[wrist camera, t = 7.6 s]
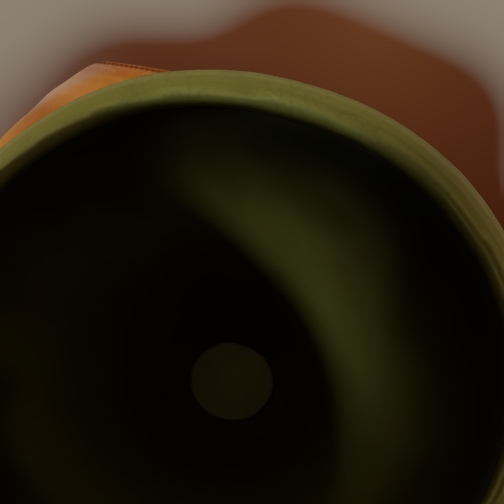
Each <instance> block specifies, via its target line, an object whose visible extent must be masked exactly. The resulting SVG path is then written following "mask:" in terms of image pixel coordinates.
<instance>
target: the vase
mask: <svg viewBox="0 0 504 504" xmlns="http://www.w3.org/2000/svg"><path fill="white" fill-rule="evenodd" d="M0 504H504V231H503V229H502V227H501V226H500V224H499V222H498V221H497V219H496V217H495V216H494V214H493V213H492V211H491V210H490V208H489V207H488V206H487V204H486V203H485V201H484V200H483V198H482V197H481V196H480V195H479V193H478V192H477V191H476V190H475V188H474V187H473V186H472V185H471V183H470V182H469V181H468V180H467V179H466V177H465V176H464V175H463V174H462V173H461V172H460V171H459V170H458V169H457V168H456V167H455V166H454V165H452V164H451V163H450V162H449V161H448V160H447V159H446V158H445V157H444V156H443V155H442V154H440V153H439V152H438V151H437V150H436V149H434V148H433V147H432V146H431V145H429V144H428V143H427V142H425V141H424V140H423V139H421V138H420V137H419V136H417V135H416V134H414V133H413V132H412V131H410V130H409V129H407V128H406V127H404V126H403V125H401V124H400V123H398V122H396V121H395V120H393V119H391V118H389V117H388V116H386V115H384V114H382V113H380V112H378V111H376V110H374V109H373V108H371V107H369V106H366V105H364V104H362V103H360V102H357V101H355V100H352V99H350V98H347V97H345V96H342V95H340V94H337V93H334V92H332V91H328V90H326V89H322V88H319V87H316V86H312V85H309V84H305V83H302V82H298V81H294V80H290V79H286V78H281V77H276V76H271V75H266V74H261V73H254V72H244V71H231V70H186V71H172V72H162V73H155V74H150V75H145V76H141V77H137V78H132V79H128V80H125V81H122V82H119V83H116V84H113V85H110V86H107V87H104V88H101V89H99V90H96V91H94V92H91V93H89V94H87V95H84V96H82V97H80V98H77V99H75V100H73V101H71V102H70V103H68V104H66V105H64V106H62V107H60V108H59V109H57V110H55V111H53V112H52V113H50V114H48V115H47V116H45V117H43V118H42V119H40V120H39V121H37V122H36V123H34V124H33V125H31V126H30V127H28V128H27V129H25V130H24V131H22V132H21V133H19V134H18V135H17V136H15V137H14V138H13V139H12V140H10V141H9V142H8V143H7V144H6V145H4V146H3V147H2V148H1V149H0Z"/></svg>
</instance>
